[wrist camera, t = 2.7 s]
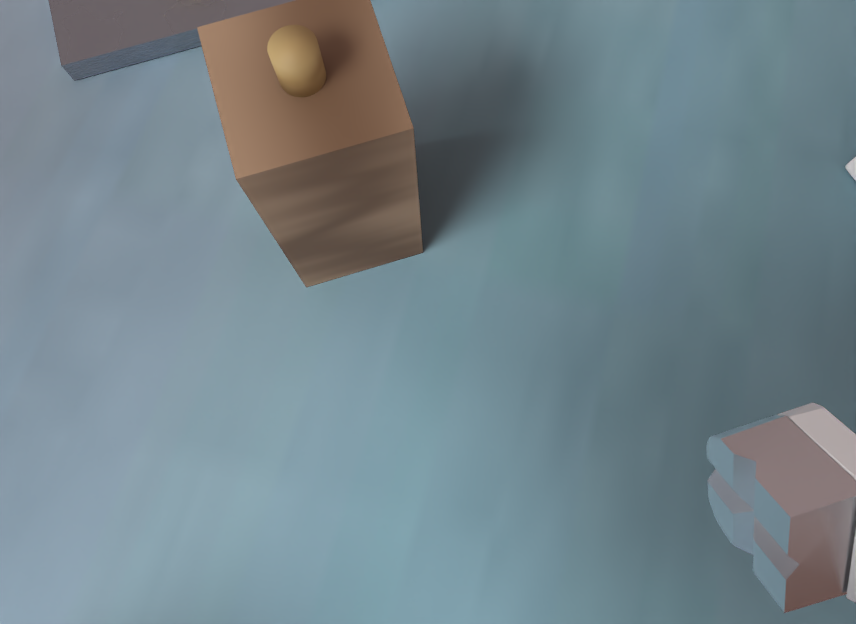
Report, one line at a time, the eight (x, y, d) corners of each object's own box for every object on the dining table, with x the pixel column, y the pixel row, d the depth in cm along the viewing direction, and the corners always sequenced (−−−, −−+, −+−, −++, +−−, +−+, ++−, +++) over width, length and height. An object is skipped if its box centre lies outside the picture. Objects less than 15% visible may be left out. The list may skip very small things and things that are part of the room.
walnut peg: (306, 287, 25) (220, 155, 16) (277, 180, 27) (179, -6, 17) (423, 252, 26) (411, 101, 16) (389, 148, 27) (358, -54, 17)
